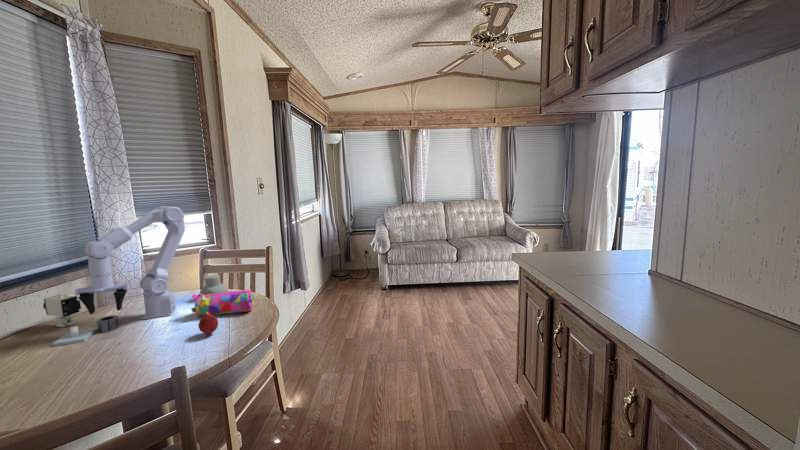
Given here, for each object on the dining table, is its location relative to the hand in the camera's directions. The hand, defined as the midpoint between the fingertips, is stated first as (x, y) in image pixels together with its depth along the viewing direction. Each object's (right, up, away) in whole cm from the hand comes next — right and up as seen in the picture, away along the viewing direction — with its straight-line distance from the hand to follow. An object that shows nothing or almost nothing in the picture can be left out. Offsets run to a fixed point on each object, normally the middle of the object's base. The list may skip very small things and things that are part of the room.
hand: (106, 311), depth 116 cm
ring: (0, -7, +1) cm, 7 cm away
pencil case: (+35, -5, +14) cm, 38 cm away
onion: (+40, -7, -4) cm, 41 cm away
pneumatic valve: (-20, -7, +5) cm, 21 cm away
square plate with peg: (-5, -8, -6) cm, 11 cm away
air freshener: (+20, -2, +32) cm, 38 cm away
